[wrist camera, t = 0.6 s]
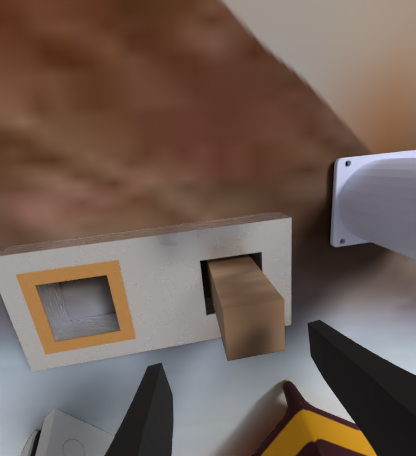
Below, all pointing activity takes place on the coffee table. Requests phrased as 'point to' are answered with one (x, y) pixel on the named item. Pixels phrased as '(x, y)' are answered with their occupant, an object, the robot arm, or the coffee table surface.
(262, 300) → the walnut peg
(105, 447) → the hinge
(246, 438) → the coffee table surface
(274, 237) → the peg-in-hole board
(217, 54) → the coffee table surface
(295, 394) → the decorative lantern
